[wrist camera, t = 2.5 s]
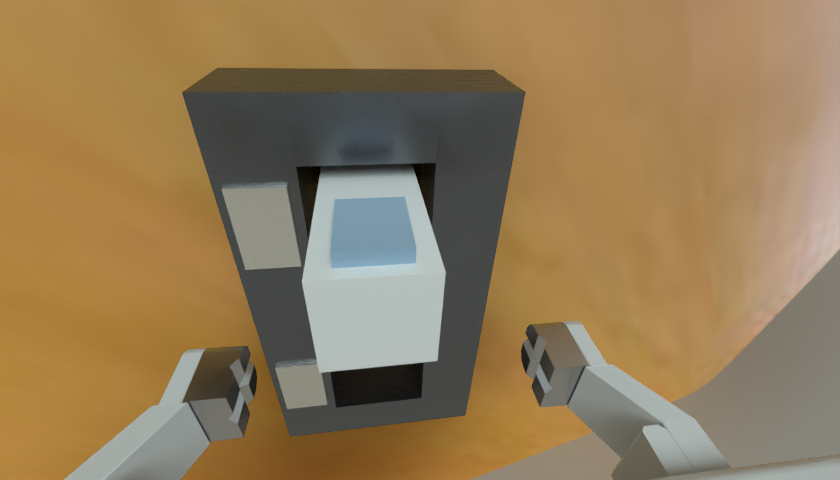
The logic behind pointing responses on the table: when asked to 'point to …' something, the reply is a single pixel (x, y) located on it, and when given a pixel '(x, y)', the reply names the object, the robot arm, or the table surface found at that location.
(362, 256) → the plug
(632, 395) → the robot arm
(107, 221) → the table surface
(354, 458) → the table surface
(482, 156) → the panel
